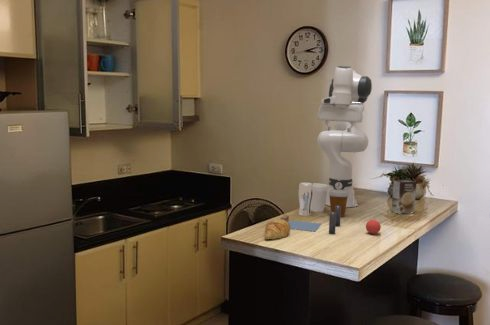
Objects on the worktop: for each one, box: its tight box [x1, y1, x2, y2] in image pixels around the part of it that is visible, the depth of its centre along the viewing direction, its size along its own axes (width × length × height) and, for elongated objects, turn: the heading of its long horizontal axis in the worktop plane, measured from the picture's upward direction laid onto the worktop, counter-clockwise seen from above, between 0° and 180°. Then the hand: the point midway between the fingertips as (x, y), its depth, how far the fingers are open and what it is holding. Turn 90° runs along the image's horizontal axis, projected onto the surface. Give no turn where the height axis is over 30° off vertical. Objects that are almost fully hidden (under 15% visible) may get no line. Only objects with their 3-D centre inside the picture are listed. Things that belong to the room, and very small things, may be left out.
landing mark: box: [288, 220, 322, 233], centre depth 225 cm, size 14×14×1 cm
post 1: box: [328, 211, 336, 235], centre depth 214 cm, size 3×3×9 cm
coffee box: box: [391, 179, 417, 215], centre depth 254 cm, size 9×6×16 cm
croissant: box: [264, 218, 291, 240], centre depth 210 cm, size 21×10×8 cm, turn 154°
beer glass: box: [298, 181, 314, 217], centre depth 246 cm, size 7×7×15 cm
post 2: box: [335, 205, 342, 228], centre depth 226 cm, size 3×3×9 cm
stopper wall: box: [279, 215, 290, 223], centre depth 228 cm, size 12×2×2 cm, turn 160°
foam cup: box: [311, 182, 329, 213], centre depth 254 cm, size 10×9×13 cm
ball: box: [365, 219, 382, 235], centre depth 215 cm, size 6×6×6 cm
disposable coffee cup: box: [329, 189, 349, 218], centre depth 245 cm, size 10×10×12 cm
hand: (338, 131), depth 235 cm, fingers open, 8 cm apart
